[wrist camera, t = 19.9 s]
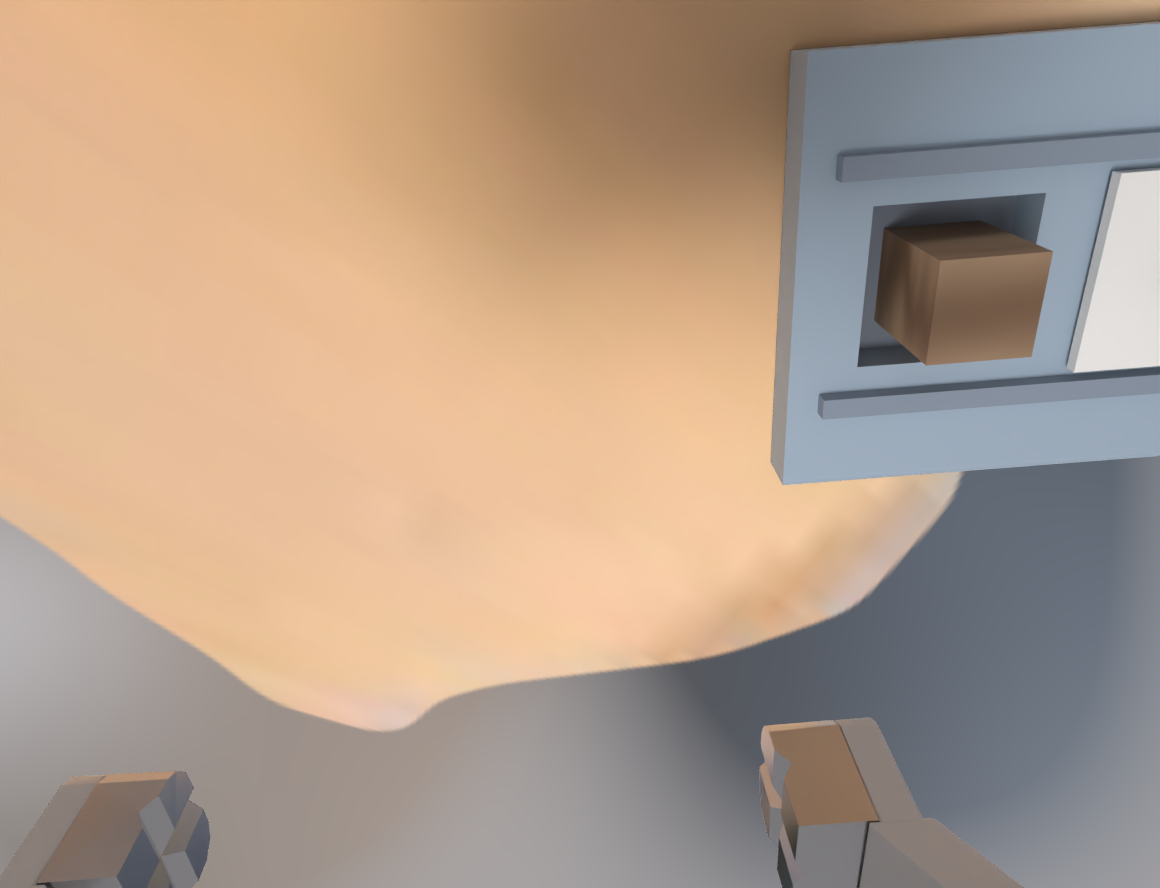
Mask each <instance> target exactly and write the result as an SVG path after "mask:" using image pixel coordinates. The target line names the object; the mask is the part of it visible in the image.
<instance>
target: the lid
mask: <svg viewBox="0 0 1160 888" xmlns="http://www.w3.org/2000/svg"><path fill="white" fill-rule="evenodd" d="M1153 366H1160V168H1147V169H1134V170H1121V171H1112V176H1111V180H1110V184H1109V188H1108V193H1107V197H1106V201H1105V205H1104V210H1103V214H1102V218H1101V223H1100V227H1099V231H1098V235H1097V240H1096V244H1095V248H1094V252H1093V257H1092V261H1091V265H1090V269H1089V274H1088V278H1087V282H1086V287H1085V291H1084V295H1083V299H1082V304H1081V308H1080V312H1079V316H1078V321H1077V325H1076V329H1075V333H1074V338H1073V342H1072V346H1071V351H1070V355H1069V359H1068V363H1067V369H1069V370H1070V371H1072V372H1074V373H1076V372H1089V371H1102V370H1114V369H1127V368H1140V367H1153Z"/></svg>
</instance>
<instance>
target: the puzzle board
mask: <svg viewBox="0 0 1160 888" xmlns="http://www.w3.org/2000/svg"><path fill="white" fill-rule="evenodd" d="M1147 168H1160V21H1155V22H1142V23H1130V24H1117V25H1104V26H1092V27H1079V28H1067V29H1054V30H1041V31H1029V32H1016V33H1003V34H991V35H978V36H965V37H953V38H940V39H928V40H915V41H902V42H890V43H877V44H864V45H852V46H839V47H826V48H814V49H801V50H791V56H790V76H789V97H788V117H787V138H786V158H785V179H784V199H783V219H782V240H781V260H780V281H779V301H778V322H777V342H776V363H775V383H774V403H773V424H772V444H771V463H772V465H773V467H774V469H775V471H776V473H777V475H778V477H779V479H780V481H781V483H782V484H783V485H790V484H803V483H816V482H828V481H841V480H854V479H867V478H880V477H893V476H906V475H918V474H931V473H944V472H957V471H970V470H982V469H996V468H1008V467H1021V466H1034V465H1047V464H1059V463H1072V462H1085V461H1098V460H1111V459H1124V458H1137V457H1150V456H1160V366H1153V367H1140V368H1127V369H1114V370H1102V371H1089V372H1076V373H1074V372H1072V371H1070V370H1069V369H1067V363H1068V359H1069V355H1070V351H1071V346H1072V342H1073V338H1074V333H1075V329H1076V325H1077V321H1078V316H1079V312H1080V308H1081V304H1082V299H1083V295H1084V291H1085V287H1086V282H1087V278H1088V274H1089V269H1090V265H1091V261H1092V257H1093V252H1094V248H1095V244H1096V240H1097V235H1098V231H1099V227H1100V223H1101V218H1102V214H1103V210H1104V205H1105V201H1106V197H1107V193H1108V188H1109V184H1110V180H1111V176H1112V171H1121V170H1134V169H1147ZM977 220H980V221H983V222H985V223H987V224H990V225H992V226H995V227H997V228H999V229H1002V230H1004V231H1006V232H1009V233H1011V234H1013V235H1016V236H1018V237H1020V238H1023V239H1025V240H1027V241H1030V242H1032V243H1035V244H1037V245H1039V246H1042V247H1044V248H1046V249H1049V250H1051V251H1053V255H1052V260H1051V265H1050V270H1049V275H1048V280H1047V284H1046V289H1045V294H1044V299H1043V304H1042V309H1041V313H1040V318H1039V323H1038V328H1037V333H1036V338H1035V342H1034V347H1033V352H1032V357H1026V358H1013V359H1001V360H989V361H977V362H964V363H952V364H940V365H927V366H926V365H925V364H923V363H922V362H921V361H920V360H919V359H918V358H917V357H915V356H914V355H913V354H912V353H911V352H910V351H909V350H907V349H906V348H905V347H904V346H903V345H902V344H901V343H899V342H898V341H897V340H896V339H895V338H894V337H893V336H891V335H890V334H889V333H888V332H887V331H886V330H884V329H883V328H882V327H881V326H880V325H879V324H878V323H876V322H875V321H874V316H875V307H876V297H877V288H878V278H879V269H880V259H881V249H882V240H883V230H884V228H892V227H905V226H917V225H929V224H941V223H953V222H965V221H977Z"/></svg>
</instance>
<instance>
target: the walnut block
mask: <svg viewBox="0 0 1160 888" xmlns="http://www.w3.org/2000/svg"><path fill="white" fill-rule="evenodd" d="M1052 255H1053V251H1051V250H1049V249H1046V248H1044V247H1042V246H1039V245H1037V244H1035V243H1032V242H1030V241H1027V240H1025V239H1023V238H1020V237H1018V236H1016V235H1013V234H1011V233H1009V232H1006V231H1004V230H1002V229H999V228H997V227H995V226H992V225H990V224H987V223H985V222H983V221H980V220H977V221H965V222H953V223H941V224H929V225H917V226H905V227H892V228H884V230H883V240H882V249H881V259H880V269H879V278H878V288H877V297H876V307H875V316H874V321H875V322H876V323H878V324H879V325H880V326H881V327H882V328H883V329H884V330H886V331H887V332H888V333H889V334H890V335H891V336H893V337H894V338H895V339H896V340H897V341H898V342H899V343H901V344H902V345H903V346H904V347H905V348H906V349H907V350H909V351H910V352H911V353H912V354H913V355H914V356H915V357H917V358H918V359H919V360H920V361H921V362H922V363H923V364H925V365H926V366H927V365H940V364H952V363H964V362H977V361H989V360H1001V359H1013V358H1026V357H1032V352H1033V347H1034V342H1035V338H1036V333H1037V328H1038V323H1039V318H1040V313H1041V309H1042V304H1043V299H1044V294H1045V289H1046V284H1047V280H1048V275H1049V270H1050V265H1051V260H1052Z"/></svg>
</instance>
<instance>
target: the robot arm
mask: <svg viewBox="0 0 1160 888" xmlns="http://www.w3.org/2000/svg"><path fill="white" fill-rule="evenodd" d="M761 748H762V751H763V755H764V759H765V762H764V763H763V764H762V765H761V767H760V768H759V769H760V771H759V789H760V799H761V807H762V812H763V817H764V821H765V826H766V830H767V833H768V837H769V839H770V840H771V841H772V842H773V843H774V844H776V845H777V846H778V863H777V870H778V874H779V877H780V881H781V885H782V888H1024V887H1022V886H1021V885H1019V884H1018V883H1017V882H1016V881H1015V880H1013V879H1012V878H1011V877H1009V876H1008V875H1007V874H1005V873H1004V872H1003V871H1001V870H1000V869H999V868H998V867H996V866H995V865H994V864H992V863H991V862H990V861H988V860H987V859H986V858H985V857H983V856H982V855H981V854H979V853H978V852H977V851H975V850H974V849H973V848H972V847H970V846H969V845H968V844H966V843H965V842H964V841H963V840H961V839H960V838H959V837H957V836H956V835H955V834H953V833H952V832H951V831H950V830H948V829H947V828H946V827H944V826H943V825H942V824H940V823H939V822H938V821H936V820H935V819H923V818H922V816H921V814H920V812H919V810H918V808H917V806H916V804H915V802H914V800H913V798H912V795H911V793H910V791H909V789H908V787H907V785H906V783H905V781H904V779H903V777H902V775H901V773H900V771H899V769H898V766H897V765H896V763H895V760H894V758H893V756H892V754H891V752H890V750H889V748H888V746H887V744H886V742H885V740H884V737H883V736H882V733H881V731H880V729H879V727H878V725H877V723H876V722H875V721H874V720H873V719H871V718H858V719H845V720H835V721H832V720H827V721H817V722H805V723H793V724H782V725H771V726H764V727H763V730H762V734H761ZM193 789H194V787H193V785H192V783H191V781H190V779H189V777H188V775H187V773H186V772H183V771H170V772H148V773H128V774H108V775H97V776H79V777H72V778H71V779H70V780H68V781H67V782H65V783H64V784H63V785H61V787H60V788H59V789H58V791H57V792H56V794H55V795H54V797H53V798H52V800H51V801H50V803H49V804H48V806H47V807H46V809H45V810H44V812H43V813H42V815H41V816H40V818H39V819H38V821H37V822H36V824H35V825H34V827H33V828H32V830H31V831H30V833H29V835H28V836H27V837H26V839H25V840H24V842H23V843H22V845H21V846H20V848H19V850H18V851H17V853H16V854H15V856H14V857H13V859H12V860H11V862H10V863H9V865H8V866H7V868H6V869H5V871H4V872H3V874H2V875H1V877H0V888H191V887H192V886H193V885H194V884H195V883H197V882H198V881H199V878H200V876H201V873H202V871H203V868H204V866H205V863H206V861H207V855H208V849H209V842H210V831H209V824H208V823H209V822H208V819H207V817H206V815H205V812H204V809H202V808H201V807H199V806H198V805H196V804H195V803H193V802H192V801H190V800H189V797H190V795H191V793H192V791H193Z"/></svg>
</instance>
